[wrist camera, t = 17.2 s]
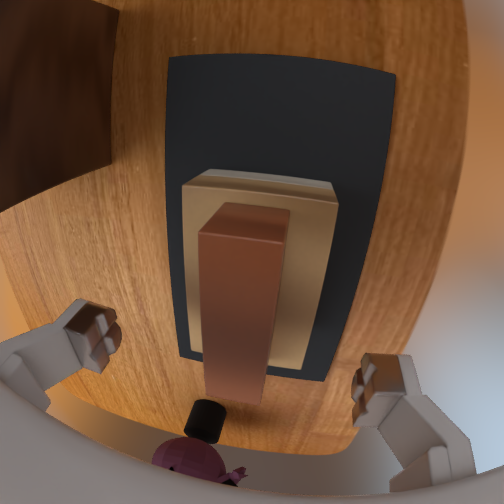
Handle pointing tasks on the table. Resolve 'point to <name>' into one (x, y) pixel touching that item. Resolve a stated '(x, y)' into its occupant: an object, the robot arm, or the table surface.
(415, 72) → the table surface
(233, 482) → the figurine
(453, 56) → the table surface
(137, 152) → the table surface
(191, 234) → the stepped wooden block
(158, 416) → the table surface
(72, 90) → the riser
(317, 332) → the mat
